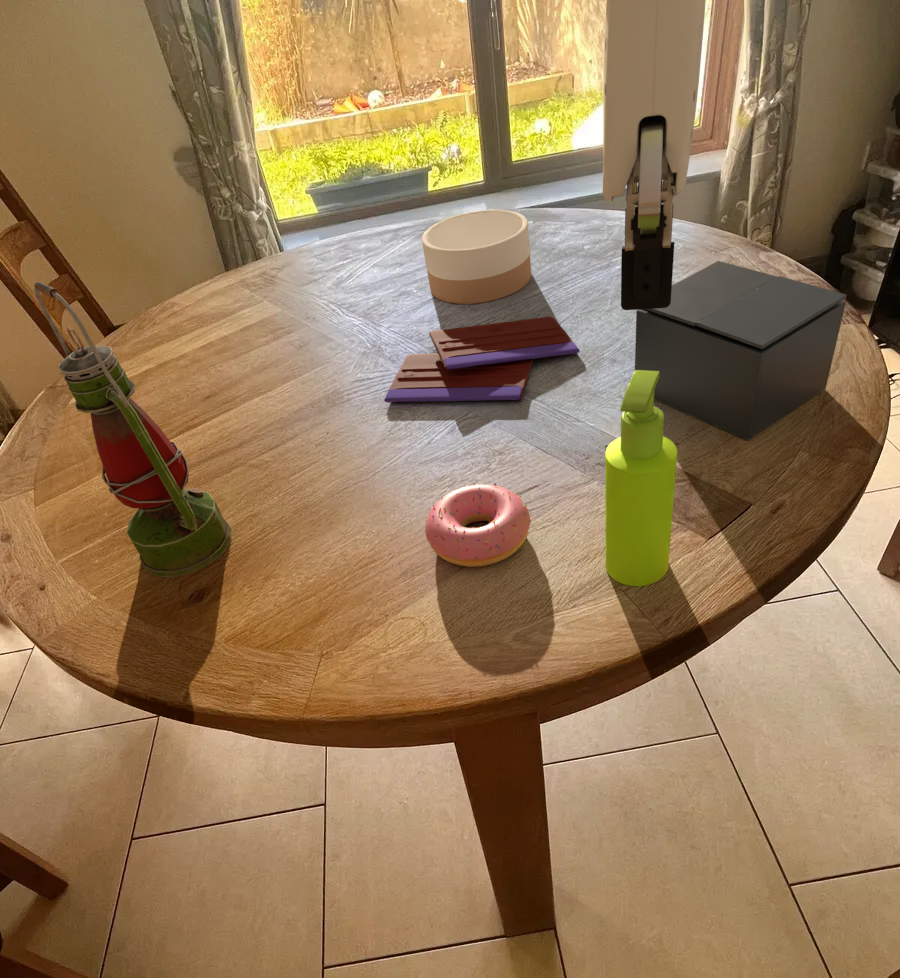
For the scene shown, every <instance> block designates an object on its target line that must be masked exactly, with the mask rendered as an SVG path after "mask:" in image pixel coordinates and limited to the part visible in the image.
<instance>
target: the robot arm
mask: <svg viewBox="0 0 900 978" xmlns="http://www.w3.org/2000/svg"><path fill="white" fill-rule="evenodd" d="M706 3H707V2H706V0H606V5H605V17H604V19H605V20H604V35H603V36H604V40H603V87H602V89H603V93H602V94H603V99H602V100H603V101H602V102H603V103H602V104H603V105H602V106H603V109H602V110H603V111H602V112H603V114H602V115H603V117H602V118H603V121H602V123H603V124H602V125H603V127H602V128H603V129H602V133H603V135H602V136H603V137H602V138H603V139H602V141H603V142H602V144H603V145H602V146H603V147H602V197H603V198H604V199H605V200H606V201H607V202H608V203H612V202H614V197H622V196H623V195H624V193H625V190H626V196H625V203H626V204H625V209H624V210H625V211H624V218H625V219H624V245H621V257H620V258H621V261H620V263H621V266H620V267H621V268H620V270H621V271H620V307H621V309H622V310H624V311H637V310H639V309H656V308H666V307H668V306H669V305H670V303H671V290H672V285H673V272H674V257H675V256H674V255H675V241H672V237H673V221H674V219H673V217H674V197H675V196H677V195H679V194H680V193H682V192H683V190H684V189H685V188H686V185H687V177H688V171H689V164H690V158H691V149H692V145H693V144H692V143H693V136H694V129H695V119H696V112H697V102H698V94H699V84H700V72H701V62H702V51H703V38H704V29H705V27H704V26H705V16H706V15H705V13H706Z"/></svg>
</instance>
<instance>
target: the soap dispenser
mask: <svg viewBox="0 0 900 978" xmlns="http://www.w3.org/2000/svg"><path fill="white" fill-rule="evenodd" d="M658 379H659V371H645V370H635V369H634V372H633V374H632V376H631V378H630V380H629V383H628V384H627V387H626V389H625V392H624V395H623V398H622V402H621V405H620V411H621V412H622V413H621V416H620V417H621V418H620V436H619V437H618V438H615V439H614V440H612V441H611V442H610V443H609V444H608V445H607V447H606V449H605V454H604V455H605V457H604V458H605V460H604V461H605V462H604V464H605V465H604V467H605V469H604V470H605V472H604V473H605V477H604V478H605V479H604V481H605V482H604V483H605V484H604V485H605V487H604V489H605V499H604V501H605V569H606V572H607V574H608V575H609V577H611V578H612V579H613V580H614V581H615V582H617V583H619V584H622V585H624V586H628V587H645V586H651V585H653V584H655V583H658V582H659V581H660V580H662V579H663V578H664V577H665V575H666V574H667V572H668V570H669V565H670V564H669V563H670V552H671V551H670V550H671V537H672V525H673V513H674V502H675V501H674V500H675V488H676V475H677V464H678V463H677V462H678V449H677V446H676V445H675V443H674V442H673V441H672V440H671V439H669V438H668V437H665V436H664V424H665V413H664V412H663V410H662V409H661V408H659V407H657V406H655V400H654V391H655V386H656V384H657V382H658Z"/></svg>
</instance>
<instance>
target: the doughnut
mask: <svg viewBox="0 0 900 978" xmlns="http://www.w3.org/2000/svg"><path fill="white" fill-rule="evenodd" d="M521 498H522V496H521V495H520V496H518V495H517V494H516V493H515V492H514V491H512V490H510V489H508V488H506V487H503V485H502V486H499V485H496V483H494V484H484V483H483V484H482V483H481V484H480V483H478V484H476V483H474V482H473V484H469V485H466V486H462V487H460V488H457V489H454V490H452V491H449V493H447V494H445V495H444V496H441V497H440V499H439V500H437V501H436V503H435V504H432V508H429V512H428V514H427V516H425V528H424V531H423V532H425V538H426V540H427V542H428V543H429V545H430V547H431V549H432V550H433V551H434V553H435V554H437V555H438V557H440V558H441V559H443V560H444V561H446V562H448V563H451V564H453V565H457V566H459V567H460V566H461V567H468V568H469V567H470V568H478V567H485V566H489V565H494V564H496V563H500V562H501V561H504V560H506V559H507V558H509V557H511V556H512V555H513V554H515V553H516V552H517V551H518V550H519V549H520V548H521V546H522V545H523V544H524V542H526V539H527V537H528V534H529V529H530V526H531V522H532V520H531V515H532V513H531V511H530V508H528V507H527V505H526V503H524V501H523V500H522V499H521ZM475 522H488V524H486V525H483V526H479V527H476V526H472V527H466V526H468V525H469V524H472V523H475Z"/></svg>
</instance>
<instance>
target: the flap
mask: <svg viewBox="0 0 900 978" xmlns="http://www.w3.org/2000/svg"><path fill="white" fill-rule="evenodd" d="M847 296H848V294H845V293H841V292H839V291H836V290H835V291H834V290H831V289H827V288H824V287H821V286H817V285H813V284H809V283H806V282H803V281H798V280H796V279H791V278H788V277H784V276H782V275H777V278H775V279H773V280H771V281H769V282H768V283H766V284H764V285H762V286H761V287H759V288H757V289H755V290H753V291H752V292H750V293H748V294H746V295H745V296H743V297H741V298H739V299H737V300H736V301H734V302H732V303H730V304H729V305H727V306H725V307H723V308H722V309H720V310H718V311H716V312H714V313H713V314H711V315H709V316H707V317H706V318H704V319H702V320H700V321H698V322H697V324H696V326H698V327H701V328H704V329H707V330H709V331H712V332H715V333H718V334H721V335H723V336H726V337H729V338H732V339H735V340H737V341H740V342H743V343H746V344H749V345H751V346H754V347H757V348H760V349H763V348H765V347H767V346H768V345H770V344H771V343H773V342H775V341H776V340H778V339H780V338H781V337H783V336H785V335H786V334H788V333H790V332H791V331H793V330H795V329H796V328H798V327H799V326H801V325H803V324H804V323H806V322H808V321H809V320H811V319H813V318H814V317H816V316H818V315H819V314H821V313H823V312H824V311H826V310H827V309H829V308H831V307H832V306H834V305H836V304H837V303H839V302H841V301H844V300H846V299H847Z"/></svg>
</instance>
